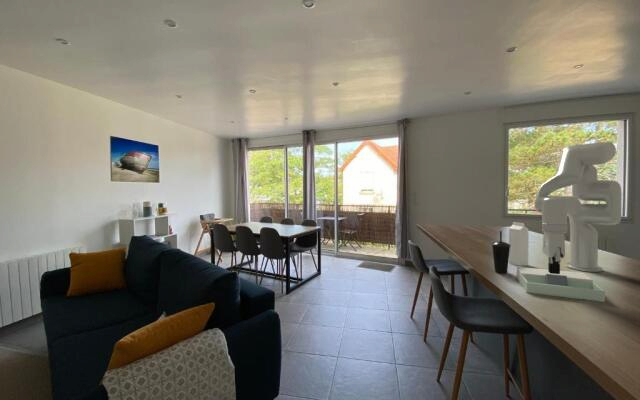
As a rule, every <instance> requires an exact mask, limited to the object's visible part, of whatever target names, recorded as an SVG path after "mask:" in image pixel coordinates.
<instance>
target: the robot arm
mask: <svg viewBox="0 0 640 400" xmlns="http://www.w3.org/2000/svg"><path fill="white" fill-rule="evenodd" d="M616 151H617V150H616V146H615V144H614V143H613V142H611V141H600V142H590V143H582V144H574V145H569V146H566V147H564V148H563V149H562V151H561V155H560V158H559V162H558V165H557V169H556V173H555V175H554V176H553V177H550V178H549V179H547V181H545V182H544V183H543V184H542V185H541V186H540V187H539V189H538V190H537V193H536V197H535V201H534V209H535V211H536V212H538V213H540V214H541V227H542V228H541V231H542V232H543V234H542V235H543V237H542V248H541V249H542V250H541V251H542V253H543V254H544V255H546V256H547V258H548V265H547V266H548V267H547V270H548V272H549V273H551V274H560V271H561V262H562V259H564V258H565V256H566V243H565V242H566V240H565V238H566V237H565V234H567V233H568V220H569V228H570V230H569V232H570V233H569V234H570V235H569V240H570V241H569V243H570V244H569V261H568V262H566V263H565V266H566V268H569V269H572V270H575V271H579V272H589V273H590V272H591V273H598V272H602V271H603V267H601V266H599V263H598V262H599V232H598V231H597V229H596V228H595V227H594V226H592V225H603V226H615V225H618V224H620V223H621V220H622V195H623V194H622V193H623V192H622V187H621V184H620V183H619V182H618V181H616V180H611V179H610V180H609V179H608V180H598V170H597V168H596V167H595V166H596V165H597V166H598V165H599V166H600V165H605V164H607V163H609V162H610V161H611V160H612V159H614V157H615V155H616ZM567 187H571V191H572V192H571V193H572V195H568V196H567V195H564V196H563V195H561V196H560V195H550V194H552V193H553V192H555V191H558V190H560V189H561V190H562V189H563V188H567ZM581 201H583V203H582V202H581ZM584 201H587V202H591V201H592V202H605V203H585V202H584Z"/></svg>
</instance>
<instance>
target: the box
mask: <svg viewBox="0 0 640 400" xmlns="http://www.w3.org/2000/svg"><path fill="white" fill-rule="evenodd" d="M567 283H568V286H559V285H549V284H546V278H541V277H530V276H521V284H520V285H521V286H522V288H523V290H524V291H525V292H526V294H535V295H541V296H542V295H543V296H552V297H560V298H569V299H576V300H583V299H585V300H586V301H591V300H592V301H593V302H601V303H605V302H606V299H605V298H606V291H605V290H604V289H603V288H601V287H600V286H599V285H597V284H596V283H594V282H593V283H592V282H582V281H571V280H567Z"/></svg>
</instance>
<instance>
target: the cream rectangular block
mask: <svg viewBox="0 0 640 400" xmlns="http://www.w3.org/2000/svg"><path fill="white" fill-rule="evenodd" d="M545 274H551V273H549V272H548V269H545V268H533V267H524V266H516V279H517V281H518V282H519V283H521V276H530V277H541V278H546V276H545ZM553 275H563V276H567V280H571V281H582V282H592V283H594V280H593V278H592V277H590V276H588V275H587V274H585V273H584V272H581V271H579V272H578V271H577V272H576V271H566V270H560V274H553Z"/></svg>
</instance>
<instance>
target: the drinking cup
mask: <svg viewBox="0 0 640 400" xmlns="http://www.w3.org/2000/svg"><path fill="white" fill-rule="evenodd" d="M502 232H503V231H502V230H500V231H499V241H497V240H496V241H494V242H491V248H492V257H493V266H494V272H495V273H497V274H508V267H509V251H510V246H511V245H510V244H509V242H506V241H503V234H502Z"/></svg>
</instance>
